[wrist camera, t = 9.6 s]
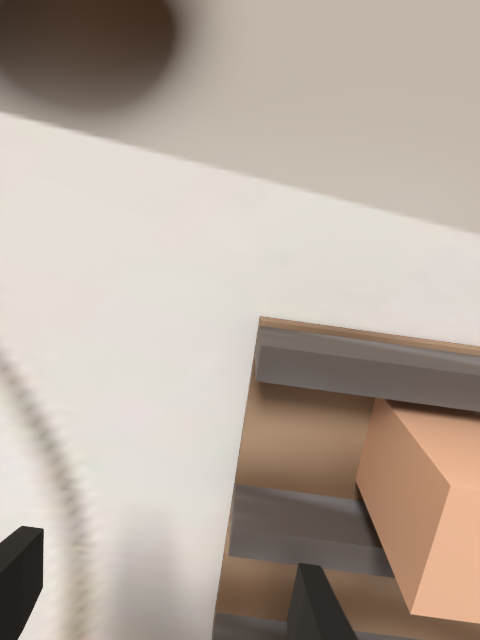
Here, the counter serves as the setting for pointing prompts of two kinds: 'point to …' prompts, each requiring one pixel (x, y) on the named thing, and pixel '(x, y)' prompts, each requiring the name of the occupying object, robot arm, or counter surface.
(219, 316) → the counter surface
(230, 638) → the rack
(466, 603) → the block
